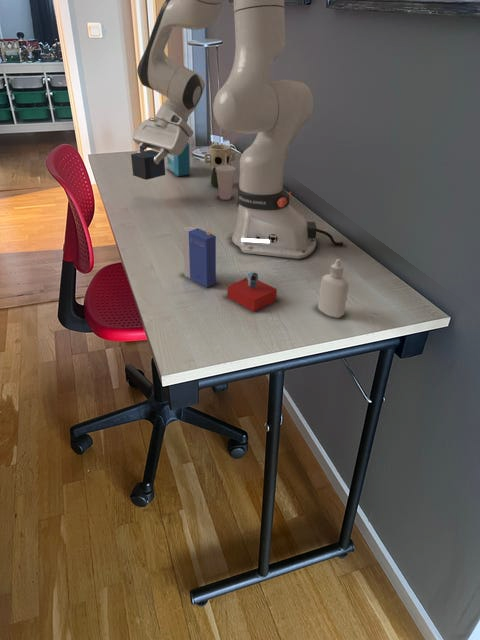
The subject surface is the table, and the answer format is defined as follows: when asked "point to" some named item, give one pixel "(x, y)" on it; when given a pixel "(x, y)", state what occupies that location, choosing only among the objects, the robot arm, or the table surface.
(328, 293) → the eye dropper bottle
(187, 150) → the data package
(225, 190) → the smoothie
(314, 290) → the table surface
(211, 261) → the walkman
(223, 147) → the character mug
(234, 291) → the red slab
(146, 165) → the bin
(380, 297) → the table surface
